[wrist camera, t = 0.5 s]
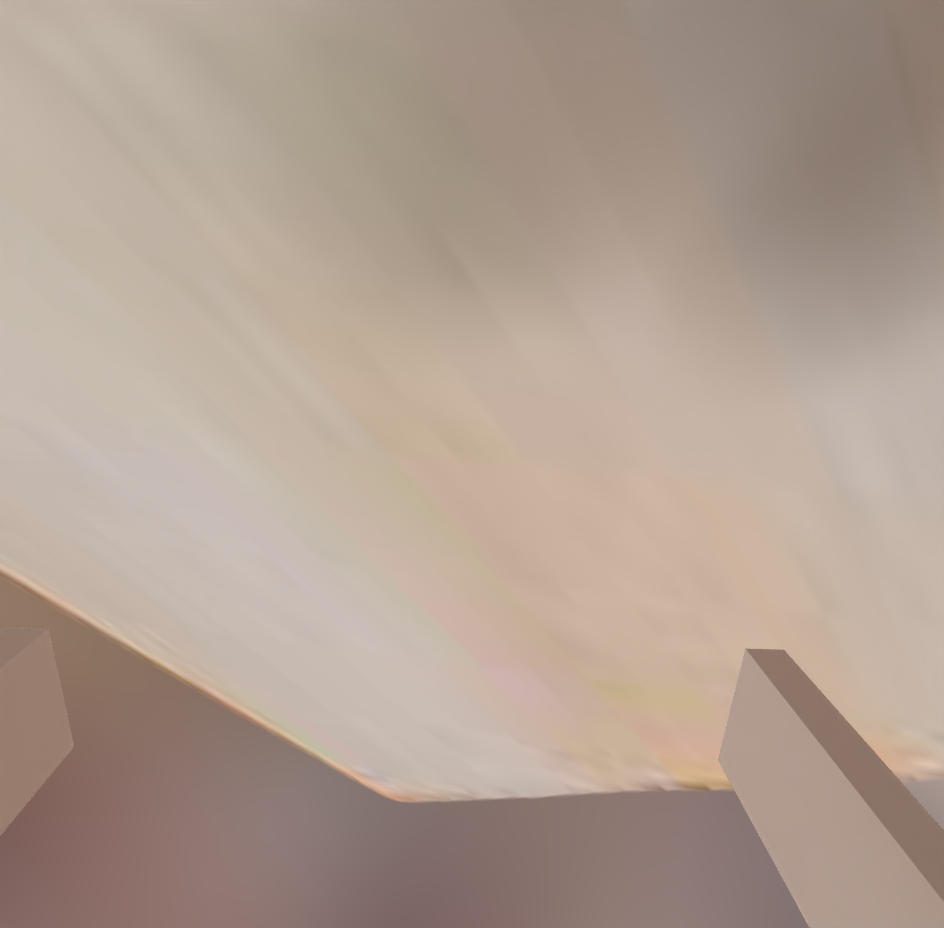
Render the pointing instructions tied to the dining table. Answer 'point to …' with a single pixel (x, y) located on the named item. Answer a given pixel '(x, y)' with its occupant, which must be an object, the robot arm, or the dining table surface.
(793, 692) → the robot arm
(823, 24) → the dining table surface
